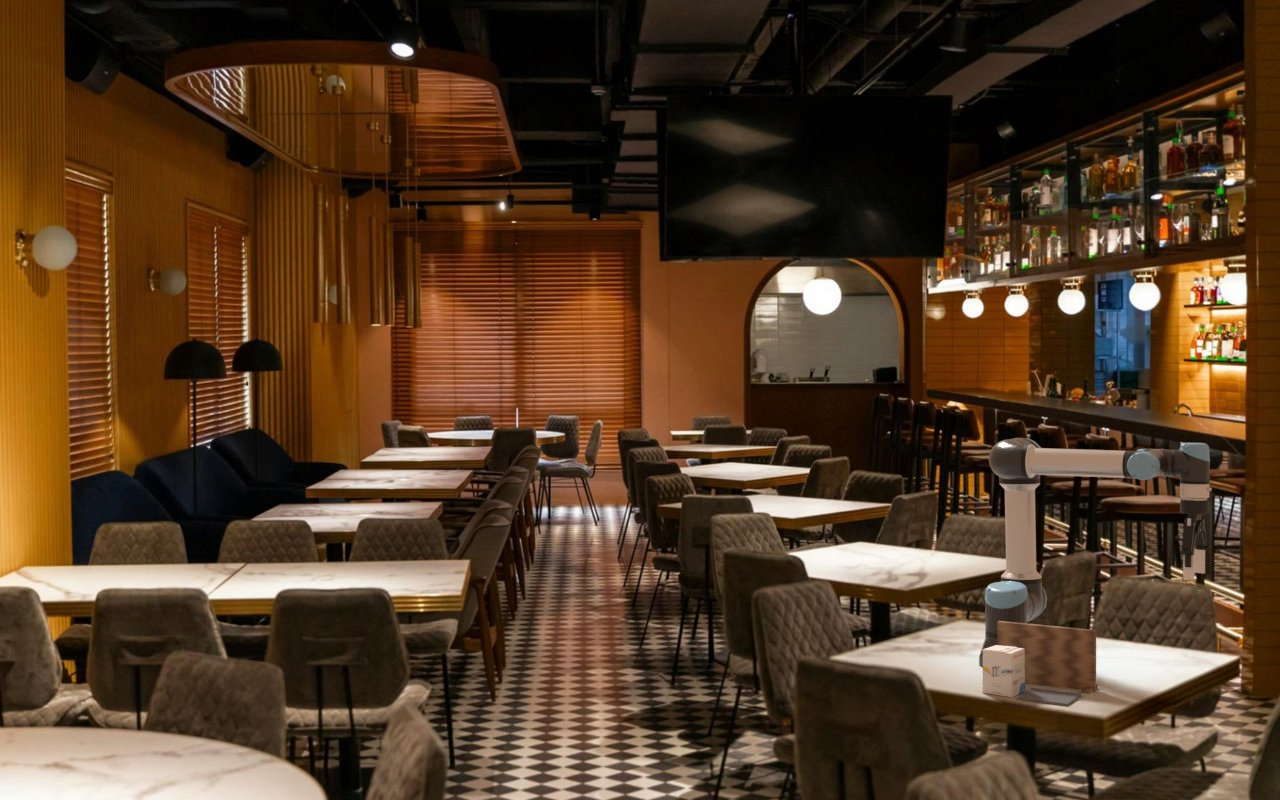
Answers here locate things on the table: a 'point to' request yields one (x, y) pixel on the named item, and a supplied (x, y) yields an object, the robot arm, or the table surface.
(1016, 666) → the ink box
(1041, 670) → the walnut screen
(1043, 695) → the rubber mat
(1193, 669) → the table surface
